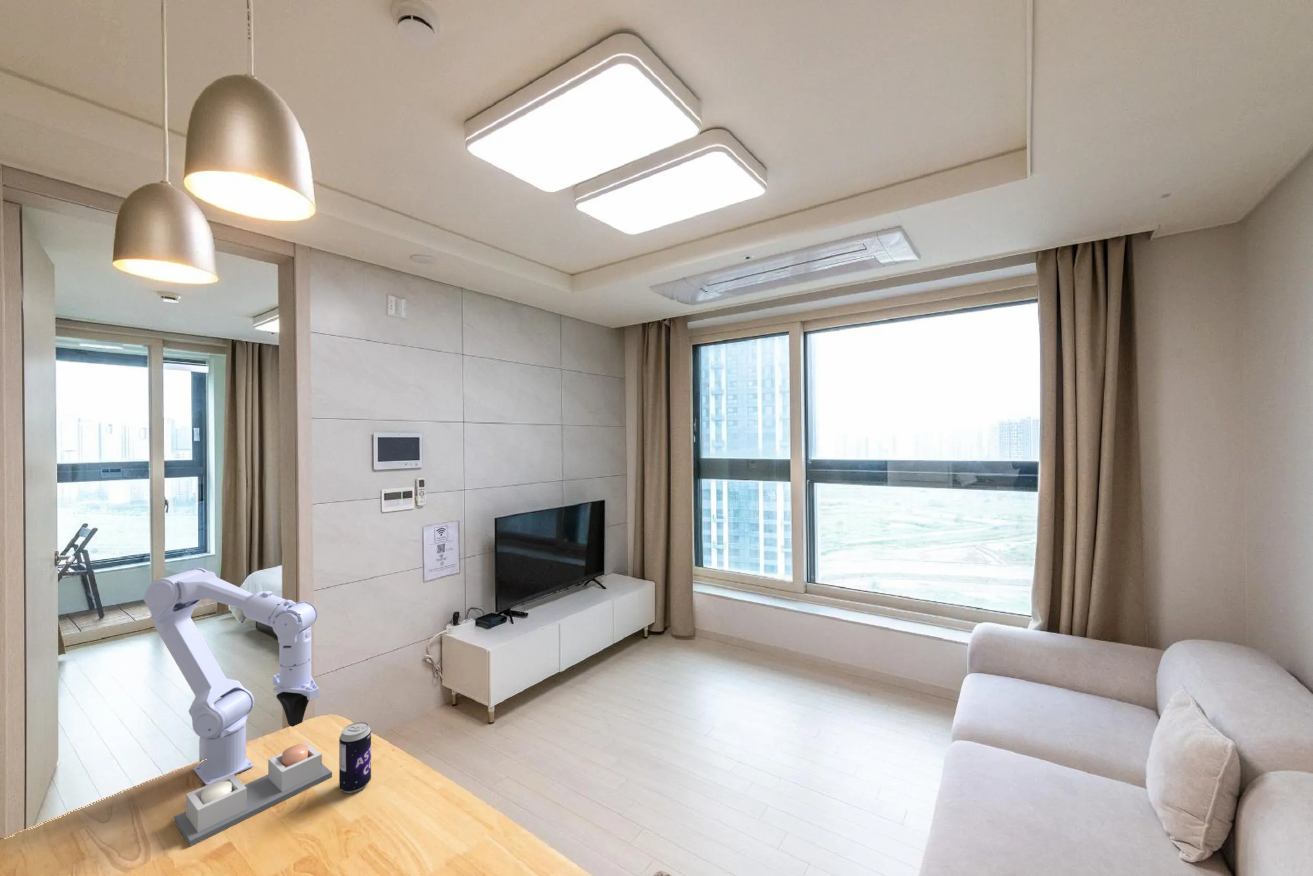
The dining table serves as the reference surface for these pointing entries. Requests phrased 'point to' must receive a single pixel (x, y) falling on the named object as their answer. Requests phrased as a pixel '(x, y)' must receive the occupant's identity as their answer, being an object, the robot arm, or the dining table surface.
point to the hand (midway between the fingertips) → (295, 723)
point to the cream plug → (215, 791)
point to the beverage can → (354, 757)
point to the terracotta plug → (294, 754)
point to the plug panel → (249, 796)
